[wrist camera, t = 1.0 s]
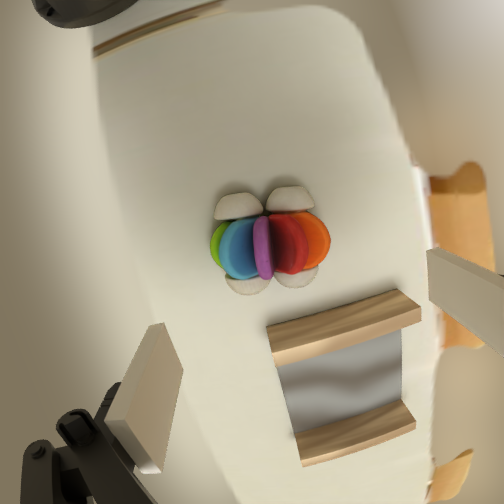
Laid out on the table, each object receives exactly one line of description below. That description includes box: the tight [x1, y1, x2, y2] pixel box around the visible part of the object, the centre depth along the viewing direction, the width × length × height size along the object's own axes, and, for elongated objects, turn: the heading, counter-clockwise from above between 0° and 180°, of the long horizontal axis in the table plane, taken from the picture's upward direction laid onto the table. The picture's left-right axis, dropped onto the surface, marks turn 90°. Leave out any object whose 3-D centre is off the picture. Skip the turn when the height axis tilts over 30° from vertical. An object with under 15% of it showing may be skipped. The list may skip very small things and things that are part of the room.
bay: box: [266, 289, 421, 467], centre depth 30 cm, size 17×14×5 cm
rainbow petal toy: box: [210, 186, 331, 295], centre depth 25 cm, size 8×10×7 cm
